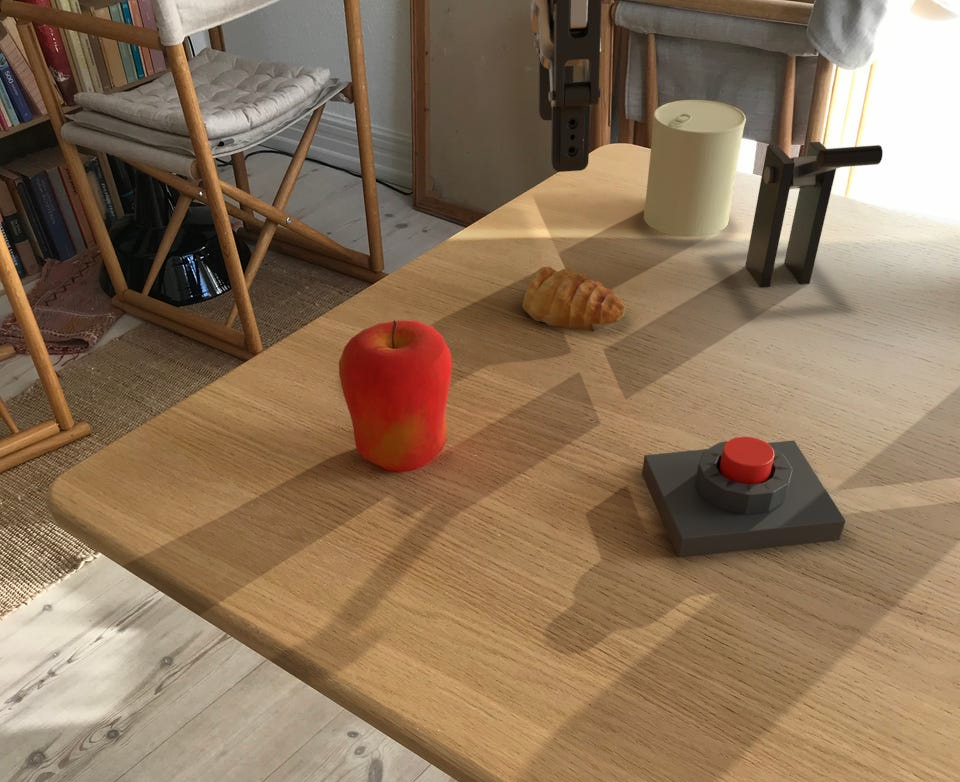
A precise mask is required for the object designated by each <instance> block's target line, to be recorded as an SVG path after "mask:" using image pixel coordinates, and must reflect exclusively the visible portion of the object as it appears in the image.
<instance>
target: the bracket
mask: <svg viewBox="0 0 960 782" xmlns="http://www.w3.org/2000/svg"><path fill="white" fill-rule="evenodd" d="M821 149H827V148H826V146H824V144H823V143H822V142H821V141H809V143H808V147H807V152H806V156H816V160H817V155H818V152H819V151H820V150H821ZM790 158H791V157H790V156H789V155H788V154H787V153H786V151H784V150H783V149H782V148H781V147H780V145H778V144H769V145H766V152H765V156H764V160H763V161H764V162H763V167H762V173H761V178H760V182H759V183H760V184H759V189H758V193H757V194H758V195H757V200H756V206H755V211H754V216H753V221H752V228H751V233H750V238H749V242H748V243H749V244H748V249H747V254H746V261H745V269H746V271H747V272H748V273H749V275H750V276H751V277H752V278H753V279H754V282H755V283H756V284H757V286H758V287H759V288H762V289H763V288H770V287H771V283H772V278H773V273H774V269H775V264H776V259H777V253H778V248H779V244H780V238H781V233H782V228H783V224H784V219H785V214H786V209H787V204H788V199H789V195H790V190H791V189H790V185H791V180H792V175H793V170H794V165H795V163H794V162H793V161H792V160H791V159H790ZM836 172H837V169H834V170H830V171H827V172H823V173H820V174H817V175H816V184H815V185H812V186H808V187H805V188H799V190H798V195H797V200H796V203H795V209H794V214H793V219H792V224H791V228H790V233H789V238H788V243H787V247H786V252H785V257H784V262H783V265H784V266H785V267H786V268H787V270H788V271H789V272H790V273H791V275H792V276H793V277H794V278H795V280H796V282H798V284H799V285H808V284H811V280H812V275H813V271H814V266H815V263H816V258H817V254H818V250H819V246H820V245H819V244H820V241H821V237H822V232H823V228H824V223H825V219H826V215H827V210H828V207H829V202H830V199H831V193H832V189H833V185H834V180H835V175H836Z"/></svg>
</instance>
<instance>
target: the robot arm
mask: <svg viewBox="0 0 960 782" xmlns="http://www.w3.org/2000/svg"><path fill="white" fill-rule="evenodd" d="M603 2H604V0H530V9H529V11H530V12H529V13H530V24H531V31H532V33H534V36H536V37H535V39H534V43H533V44H534V49H536V55H539V57H538V112H539V117H540V118H541V120H543V121H551V146H550V147H551V149H550V150H551V153H550V154H551V156H550V157H551V158H550V159H551V165H552V168H553V169H554V171H556V172H558V173H563V172H566V173H567V172H578V171H584V170H586V168H587V167H588V165H589V158H590V157H589V155H590V130H591V129H590V128H591V127H590V126H591V106H598V105H599V99H600V98H601V87H600V66H601V52H602V42H601V41H602V39H601V36H602V4H603ZM576 66H578V67H580V68H581V70H582V81H574V71H575V70H574V67H576Z"/></svg>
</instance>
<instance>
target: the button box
mask: <svg viewBox="0 0 960 782" xmlns="http://www.w3.org/2000/svg"><path fill="white" fill-rule="evenodd" d="M728 441H729V440H727V441H720V442H718V443H716V444H714V445H712V446H711V447H709V448H703V449H693V450H683V451H674V452H663V453H654V454H653V453H651V454H645V455H644V456H643V462H642V463H643V464H642V470H641V476H642V478H643V481H644V483H645V485H646V487H647V490H648V492H649V494H650V496H651V498H652V501H653V503H654V505H655V507H656V510H657V513H658V514H659V517H660V519H661V521H662V523H663V526H664V528H665V531H666V532H667V535H668V538H669V540H670V542H671V544H672V547H673V548H674V551H675V553H676V556H677V558H678V559H681V558H691V557H698V556H699V557H700V556H709V555H717V554H726V553H735V552H744V551H745V552H746V551H753V550H762V549H771V548H781V547H789V546H799V545H808V544H817V543H825V542H834V541H840V540H841V537H842V533H843V531H844V527H845V524H846V519H845V517H844V516H843V514H842V513H841V511H840V510H839V508H838V506H837V505H836V503H835V502H834V500H833V499H832V497H831V495H830V494H829V492H828V491H827V489H826V487H825V486H824V484H823V483H822V481H821V480H820V478H819V476H818V475H817V473H816V472H815V470H814V468H813V467H812V465H811V463H810V462H809V460H808V459H807V458H806V456H805V454H804V453H803V451H802V450H801V448H800V447H799V445H798V443H797V441H796V440H783V441H773V442H767V443H768V444H769V445H770V446H771V447H772V449H773V450H774V459H773V464H772V468H771V472H770V476H769V478H768V479H767V480H766V481H764V482H763V483H759V484H749V485H747V484H743V483H738V482H733V481H731V480H729V479H728V478H726V477H724V476H723V475H722V474H721V472H720V462H721V457H722V452H723V447H724V445H725V444H726V443H727V442H728Z"/></svg>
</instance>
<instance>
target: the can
mask: <svg viewBox="0 0 960 782" xmlns="http://www.w3.org/2000/svg"><path fill="white" fill-rule="evenodd" d="M746 122H747V117H746V114H744V112H743V111H742V110H740V109H739V108H737V107H735V106H733V105H730V104H728V103H723V102H719V101H715V100H705V99H683V100H676V101H672V102H667V103H664V104H662V105H660V106H658V107H657V108H656V109H655V110H654V112H653V114H652V131H651V132H652V134H651V145H650V155H649V162H648V163H649V164H648V174H647V183H646V192H645V193H646V194H645V202H644V209H643V210H644V212H643V220H644V222H645V223H646V224H647V225H648V226H649V227H650V228H652V229H653V230H656V231H658V232H661V233H663V234H667V235H669V236H670V235H671V236H676V237H685V238H686V237H687V238H688V237H689V238H692V237H693V238H695V237H697V238H698V237H706V236H711V235H714V234H717V233H719V232H721V231H723V230H724V229H725V228H726V227H727V226H728V224H729V220H730V213H731V207H732V201H733V193H734V188H735V187H734V186H735V181H736V176H737V170H738V169H737V168H738V163H739V156H740V150H741V144H742V139H743V135H744V128H745V125H746Z"/></svg>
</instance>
